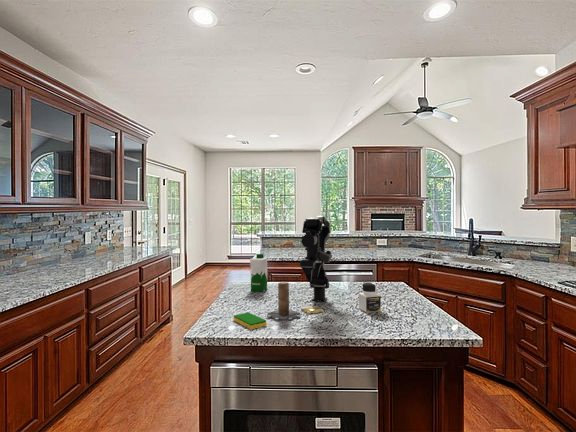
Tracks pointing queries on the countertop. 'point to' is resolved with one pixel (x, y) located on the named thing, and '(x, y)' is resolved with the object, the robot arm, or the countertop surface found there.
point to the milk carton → (258, 273)
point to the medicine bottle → (369, 298)
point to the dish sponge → (250, 320)
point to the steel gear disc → (279, 317)
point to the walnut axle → (283, 298)
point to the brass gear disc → (312, 310)
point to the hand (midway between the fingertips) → (313, 279)
